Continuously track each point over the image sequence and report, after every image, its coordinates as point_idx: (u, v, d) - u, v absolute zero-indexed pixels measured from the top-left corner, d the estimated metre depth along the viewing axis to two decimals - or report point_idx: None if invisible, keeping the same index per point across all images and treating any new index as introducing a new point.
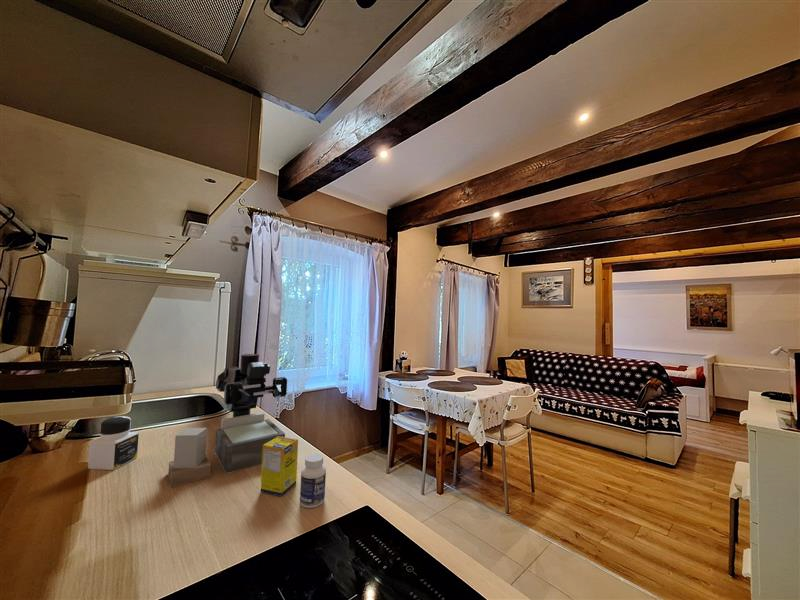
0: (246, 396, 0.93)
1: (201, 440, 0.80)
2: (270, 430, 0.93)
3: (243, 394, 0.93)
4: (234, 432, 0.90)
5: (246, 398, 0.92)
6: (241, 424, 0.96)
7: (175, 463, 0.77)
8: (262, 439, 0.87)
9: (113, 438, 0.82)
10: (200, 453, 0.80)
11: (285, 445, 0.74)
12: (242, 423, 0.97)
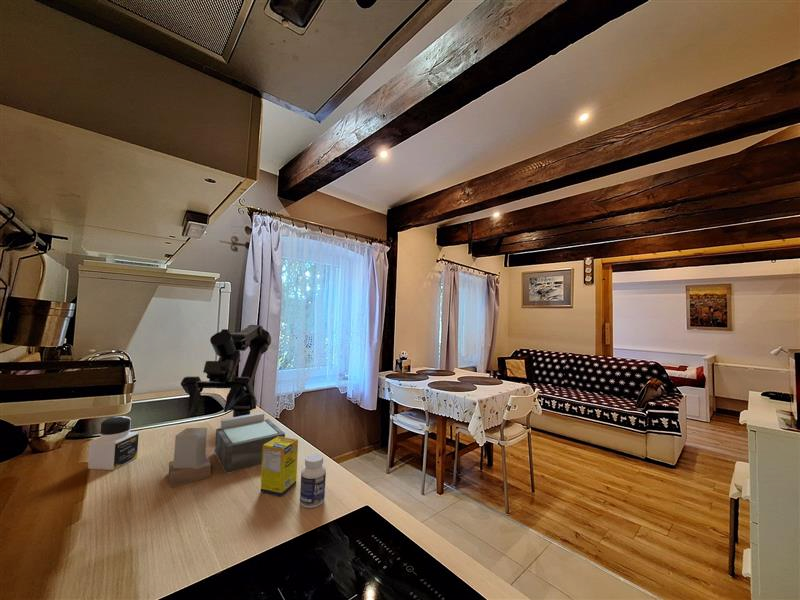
0: None
1: (201, 440, 0.80)
2: (270, 430, 0.93)
3: None
4: (234, 432, 0.90)
5: None
6: (241, 424, 0.96)
7: (175, 463, 0.77)
8: (262, 439, 0.87)
9: (113, 438, 0.82)
10: (200, 453, 0.80)
11: (285, 445, 0.74)
12: (242, 423, 0.97)
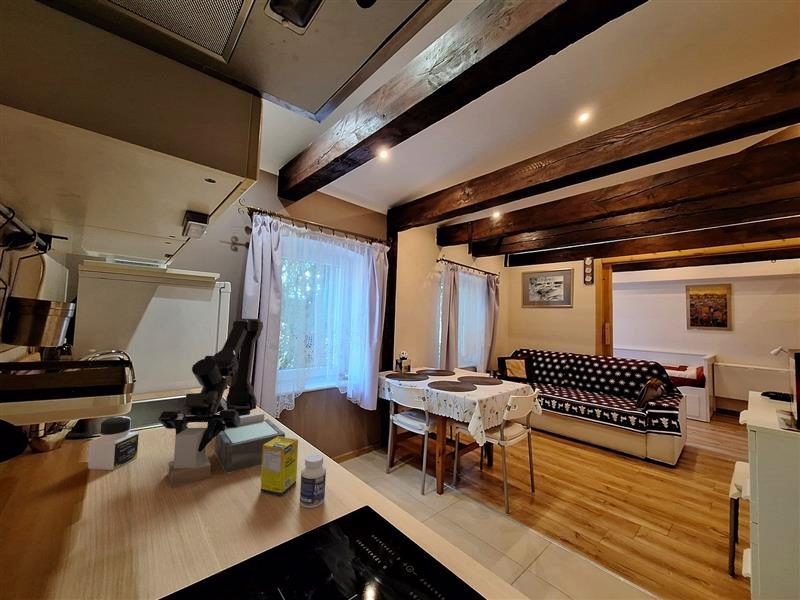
0: None
1: None
2: (270, 430, 0.93)
3: None
4: (234, 432, 0.90)
5: None
6: (241, 424, 0.96)
7: (175, 463, 0.77)
8: (262, 439, 0.87)
9: (113, 438, 0.82)
10: (200, 453, 0.80)
11: (285, 445, 0.74)
12: (242, 423, 0.97)
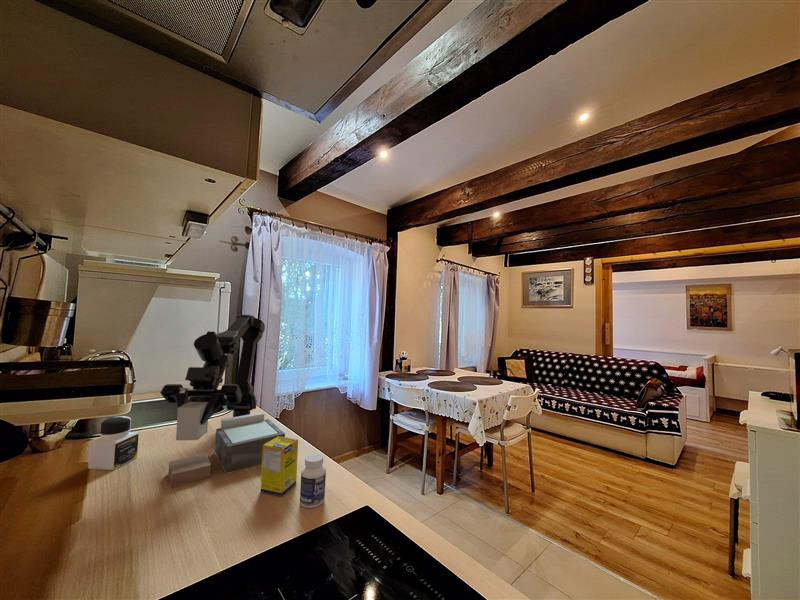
0: None
1: (203, 413, 0.80)
2: (270, 430, 0.93)
3: None
4: (234, 432, 0.90)
5: None
6: (241, 424, 0.96)
7: (177, 435, 0.77)
8: (262, 439, 0.87)
9: (113, 438, 0.82)
10: (202, 426, 0.80)
11: (285, 445, 0.74)
12: (242, 423, 0.97)
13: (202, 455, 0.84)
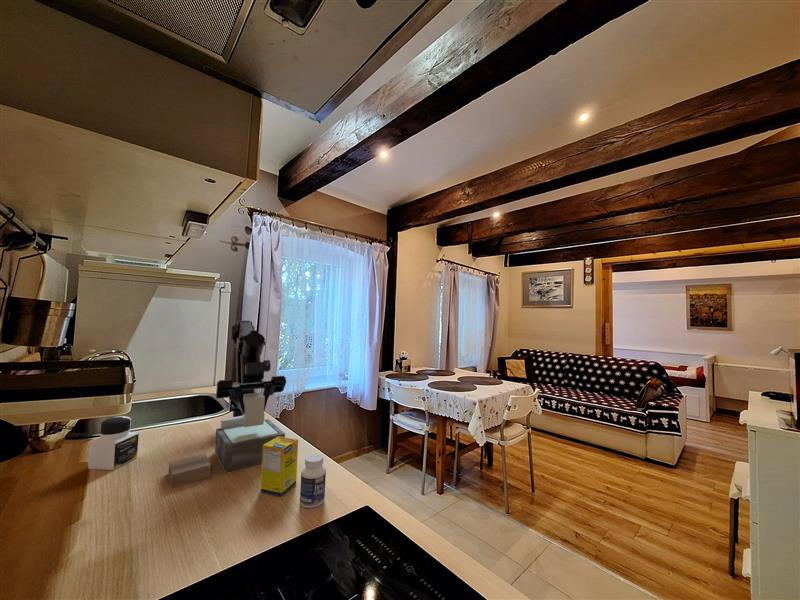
0: (241, 409, 0.88)
1: None
2: (270, 430, 0.93)
3: (239, 404, 0.89)
4: (234, 432, 0.90)
5: (241, 410, 0.88)
6: (241, 424, 0.96)
7: (245, 422, 0.87)
8: (262, 439, 0.87)
9: (113, 438, 0.82)
10: None
11: (285, 445, 0.74)
12: (242, 423, 0.97)
13: (202, 455, 0.84)
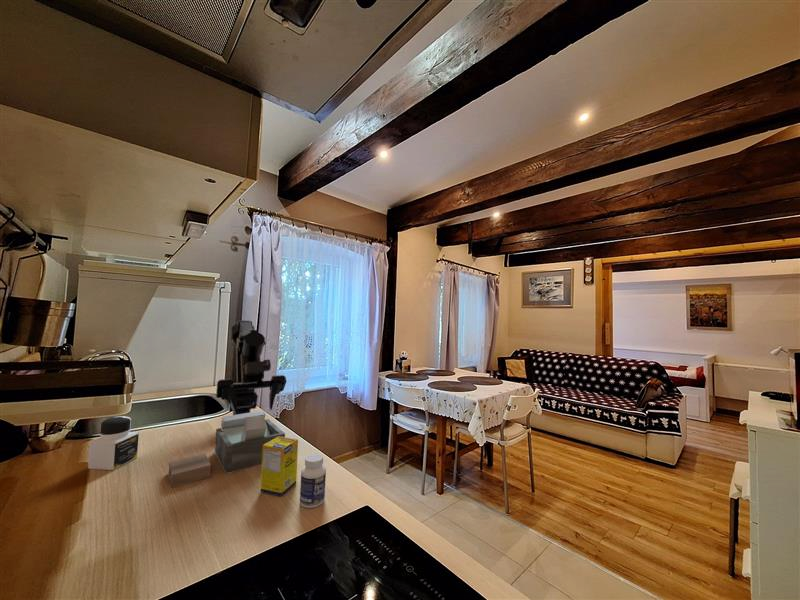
0: (234, 410, 0.87)
1: None
2: None
3: (232, 404, 0.87)
4: (233, 438, 0.90)
5: (233, 411, 0.87)
6: (241, 423, 0.96)
7: None
8: (262, 439, 0.87)
9: (113, 438, 0.82)
10: None
11: (285, 445, 0.74)
12: (243, 422, 0.96)
13: (202, 455, 0.84)
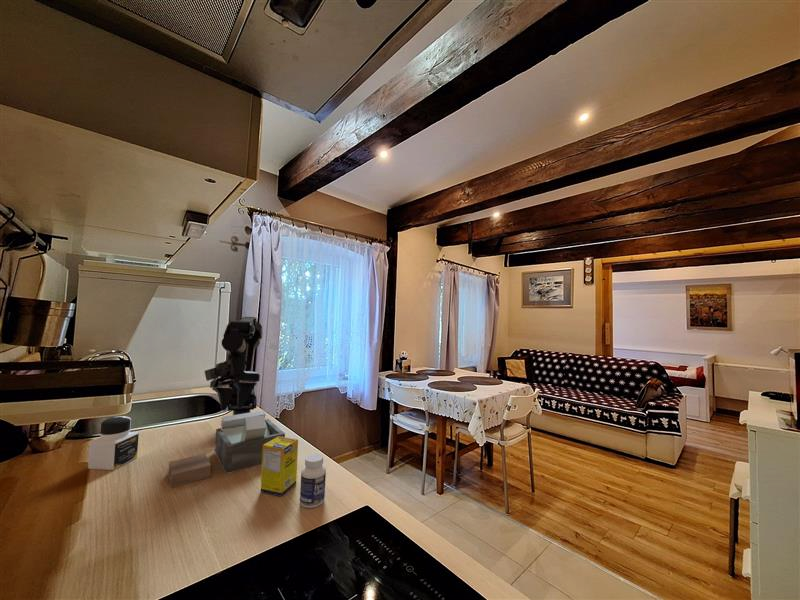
0: None
1: None
2: None
3: None
4: (233, 438, 0.90)
5: None
6: (241, 423, 0.96)
7: None
8: (262, 439, 0.87)
9: (113, 438, 0.82)
10: None
11: (285, 445, 0.74)
12: (243, 422, 0.96)
13: (202, 455, 0.84)
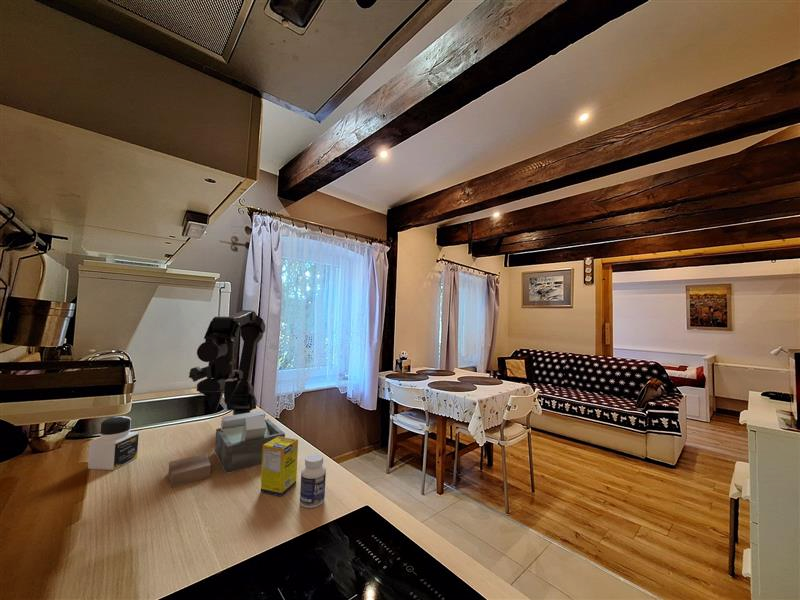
0: None
1: None
2: None
3: None
4: (233, 438, 0.90)
5: None
6: (241, 423, 0.96)
7: None
8: (262, 439, 0.87)
9: (113, 438, 0.82)
10: None
11: (285, 445, 0.74)
12: (243, 422, 0.96)
13: (202, 455, 0.84)
